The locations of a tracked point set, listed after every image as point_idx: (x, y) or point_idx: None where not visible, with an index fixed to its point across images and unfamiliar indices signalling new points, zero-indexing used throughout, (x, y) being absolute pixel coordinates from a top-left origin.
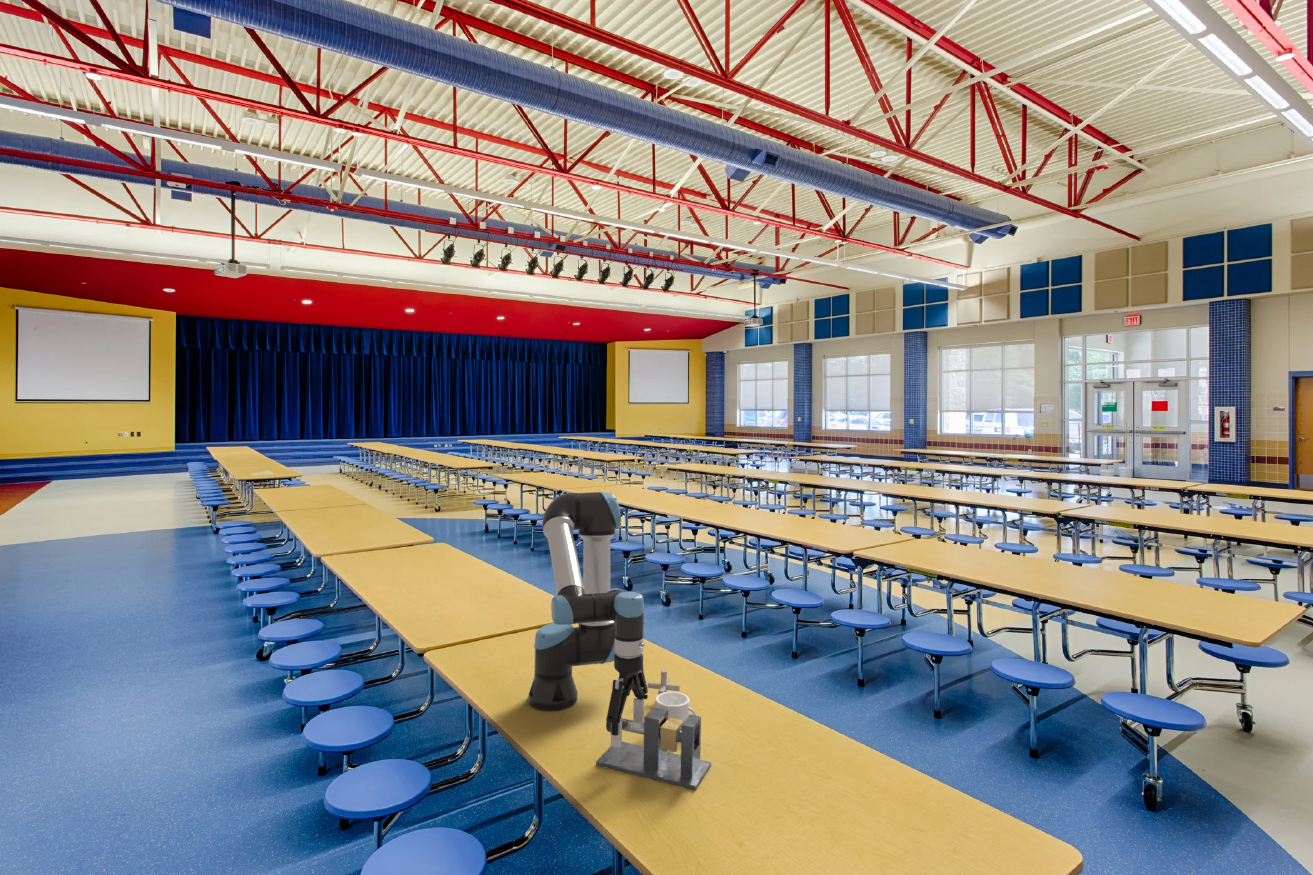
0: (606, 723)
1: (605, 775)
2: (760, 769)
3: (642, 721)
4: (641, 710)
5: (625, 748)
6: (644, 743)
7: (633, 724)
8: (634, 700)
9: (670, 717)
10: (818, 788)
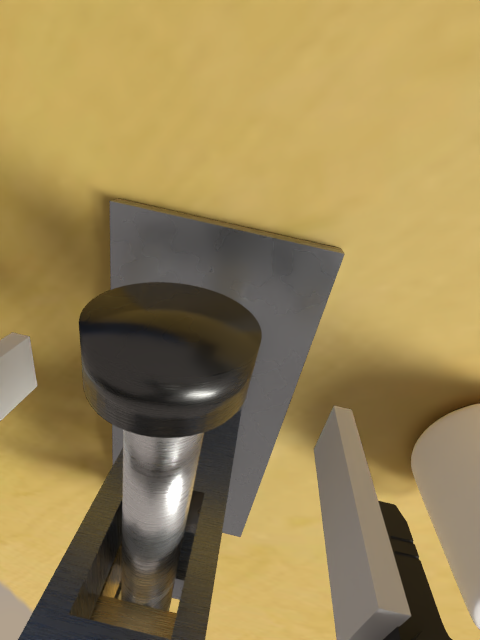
0: (83, 309)
1: (67, 262)
2: (252, 589)
3: (316, 465)
4: (327, 535)
5: (266, 311)
6: (110, 471)
7: (126, 490)
8: (371, 593)
9: (443, 528)
10: (211, 633)
